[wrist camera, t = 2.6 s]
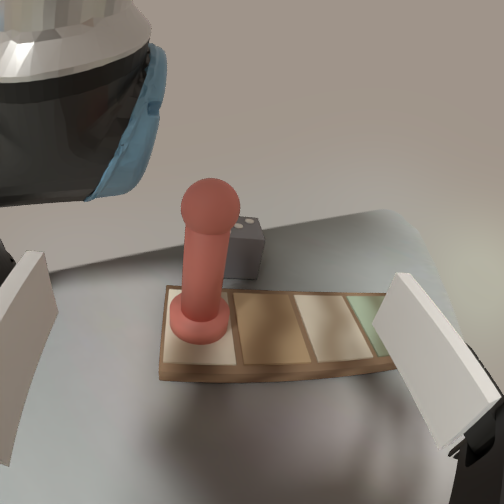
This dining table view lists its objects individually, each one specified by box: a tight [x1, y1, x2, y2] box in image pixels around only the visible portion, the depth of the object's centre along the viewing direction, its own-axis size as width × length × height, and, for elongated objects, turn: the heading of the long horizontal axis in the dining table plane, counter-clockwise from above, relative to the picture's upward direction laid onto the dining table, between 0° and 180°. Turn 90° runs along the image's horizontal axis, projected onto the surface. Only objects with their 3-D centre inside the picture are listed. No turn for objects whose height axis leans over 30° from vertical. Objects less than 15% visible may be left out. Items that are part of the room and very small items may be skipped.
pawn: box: [170, 178, 240, 345], centre depth 22 cm, size 5×5×12 cm
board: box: [159, 285, 397, 383], centre depth 28 cm, size 30×10×1 cm, turn 98°
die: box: [223, 216, 265, 280], centre depth 35 cm, size 5×5×5 cm
